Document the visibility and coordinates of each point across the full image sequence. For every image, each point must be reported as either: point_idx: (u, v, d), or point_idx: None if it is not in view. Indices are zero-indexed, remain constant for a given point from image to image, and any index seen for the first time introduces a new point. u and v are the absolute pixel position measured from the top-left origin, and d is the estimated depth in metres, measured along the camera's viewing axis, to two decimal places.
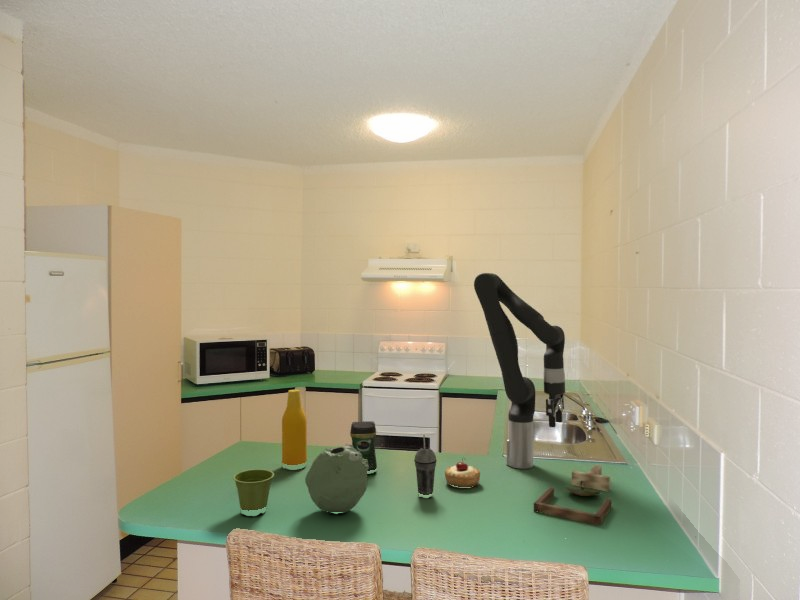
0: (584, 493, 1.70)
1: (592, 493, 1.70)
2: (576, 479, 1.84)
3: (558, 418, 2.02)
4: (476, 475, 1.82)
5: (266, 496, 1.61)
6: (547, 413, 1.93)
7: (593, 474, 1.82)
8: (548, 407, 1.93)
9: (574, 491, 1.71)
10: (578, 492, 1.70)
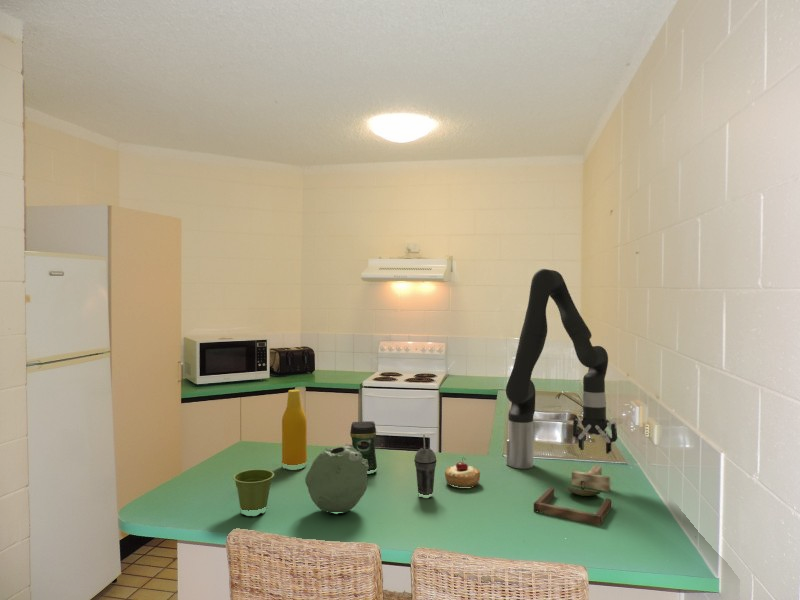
0: (584, 493, 1.70)
1: (592, 493, 1.70)
2: (576, 479, 1.84)
3: (582, 446, 1.88)
4: (476, 475, 1.82)
5: (266, 496, 1.61)
6: (615, 439, 1.82)
7: (593, 474, 1.82)
8: (615, 432, 1.82)
9: (574, 491, 1.71)
10: (578, 492, 1.71)
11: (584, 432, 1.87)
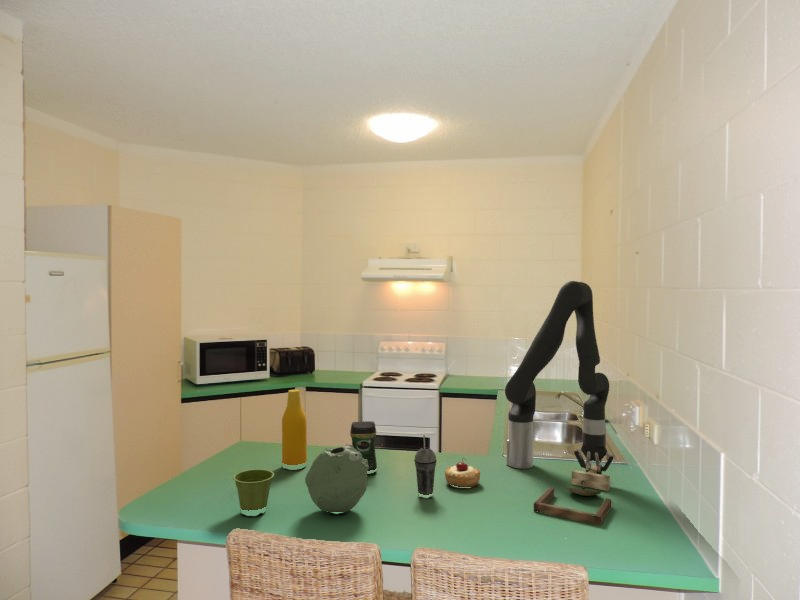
0: (585, 493, 1.70)
1: (593, 493, 1.70)
2: (575, 478, 1.84)
3: None
4: (476, 475, 1.82)
5: (266, 496, 1.61)
6: None
7: (593, 473, 1.82)
8: None
9: (575, 491, 1.71)
10: (579, 492, 1.71)
11: (588, 461, 1.86)
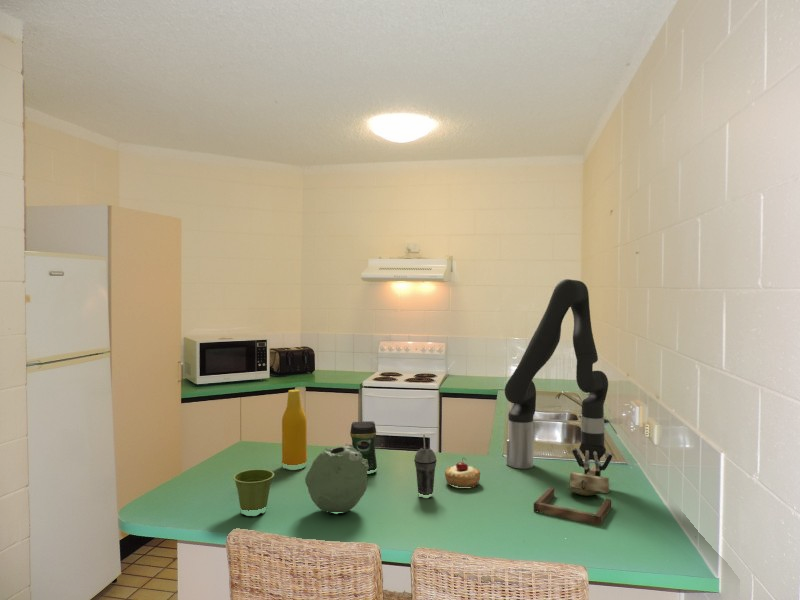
0: (585, 492, 1.70)
1: (593, 492, 1.70)
2: (574, 480, 1.82)
3: None
4: (476, 475, 1.82)
5: (266, 496, 1.61)
6: None
7: (592, 475, 1.80)
8: None
9: (575, 490, 1.71)
10: (579, 491, 1.71)
11: (586, 460, 1.84)
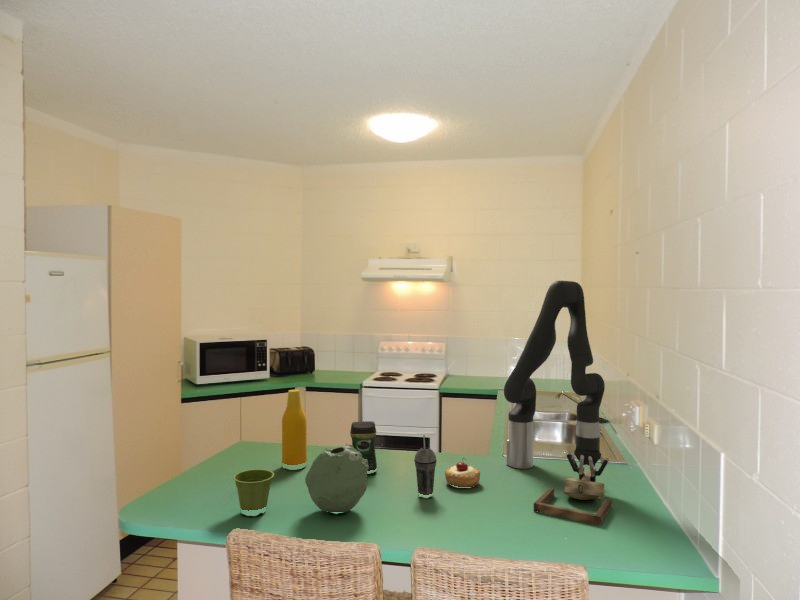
0: (583, 497, 1.66)
1: (591, 497, 1.66)
2: (569, 486, 1.77)
3: None
4: (476, 475, 1.82)
5: (266, 496, 1.61)
6: None
7: (587, 481, 1.75)
8: None
9: (573, 495, 1.67)
10: (577, 496, 1.67)
11: (581, 465, 1.78)
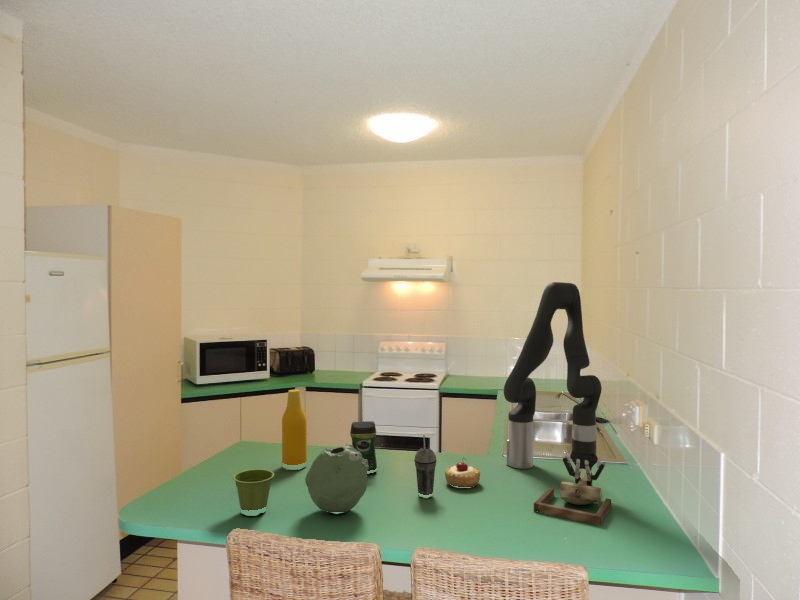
0: (582, 502, 1.62)
1: (590, 502, 1.62)
2: (565, 490, 1.73)
3: None
4: (476, 475, 1.82)
5: (266, 496, 1.61)
6: None
7: (583, 485, 1.71)
8: None
9: (571, 500, 1.63)
10: (575, 501, 1.63)
11: (577, 469, 1.74)
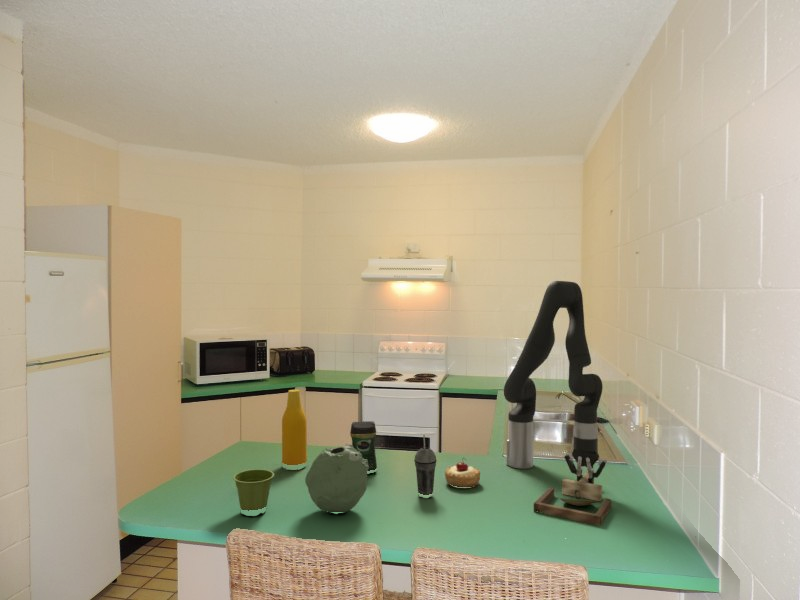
0: (582, 503, 1.62)
1: (590, 502, 1.62)
2: (566, 487, 1.75)
3: None
4: (476, 475, 1.82)
5: (266, 496, 1.61)
6: None
7: (584, 483, 1.73)
8: None
9: (571, 502, 1.62)
10: (575, 502, 1.62)
11: (579, 466, 1.77)
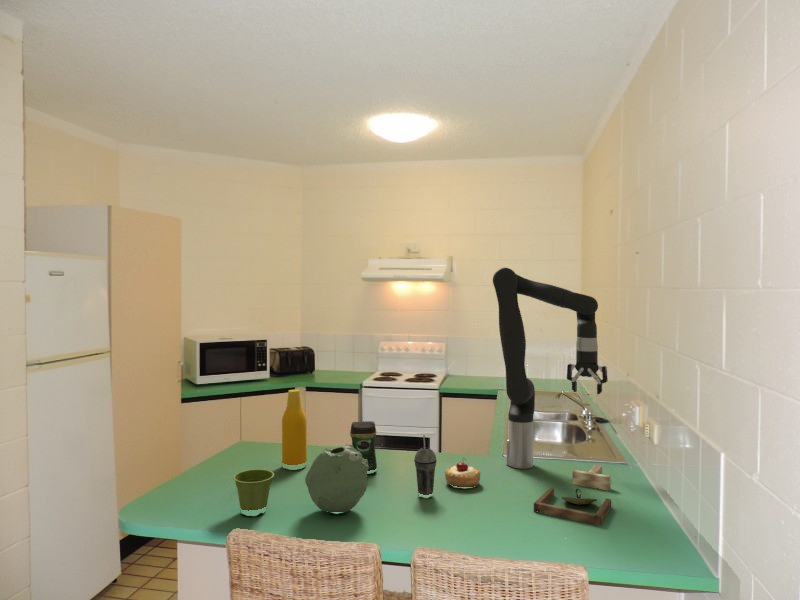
0: (583, 502, 1.63)
1: (591, 501, 1.63)
2: (576, 478, 1.85)
3: (575, 388, 2.04)
4: (476, 475, 1.82)
5: (266, 496, 1.61)
6: (606, 380, 1.98)
7: (594, 473, 1.83)
8: (606, 374, 1.98)
9: (572, 500, 1.63)
10: (577, 501, 1.63)
11: (577, 375, 2.02)
